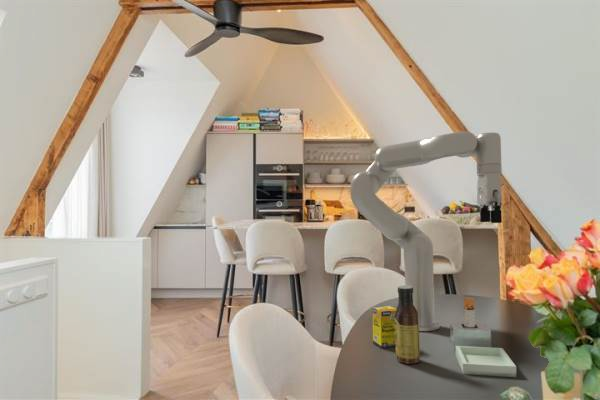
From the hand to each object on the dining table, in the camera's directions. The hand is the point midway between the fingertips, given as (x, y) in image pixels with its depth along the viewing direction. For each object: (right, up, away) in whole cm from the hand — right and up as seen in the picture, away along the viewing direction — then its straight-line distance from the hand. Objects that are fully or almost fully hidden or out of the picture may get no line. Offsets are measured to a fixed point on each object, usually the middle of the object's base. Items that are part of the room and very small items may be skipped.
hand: (490, 222), depth 143 cm
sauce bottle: (-34, -36, -27) cm, 56 cm away
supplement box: (-37, -36, -13) cm, 53 cm away
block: (-13, -35, -17) cm, 41 cm away
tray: (-16, -35, -31) cm, 50 cm away
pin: (-13, -35, -17) cm, 41 cm away
